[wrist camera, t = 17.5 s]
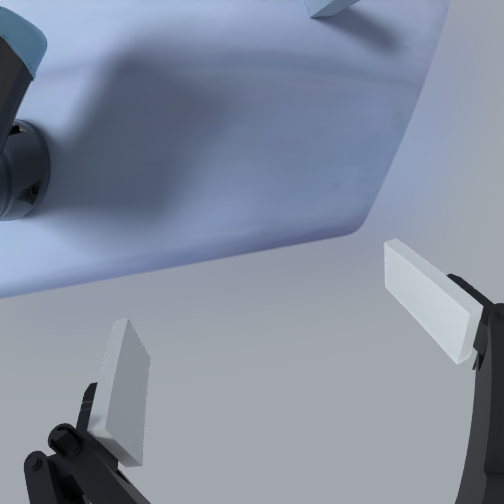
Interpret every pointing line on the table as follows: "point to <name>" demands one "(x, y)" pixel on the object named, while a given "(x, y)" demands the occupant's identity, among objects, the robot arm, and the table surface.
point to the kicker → (327, 7)
